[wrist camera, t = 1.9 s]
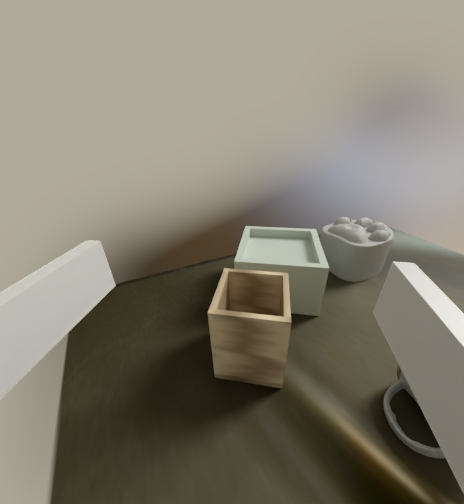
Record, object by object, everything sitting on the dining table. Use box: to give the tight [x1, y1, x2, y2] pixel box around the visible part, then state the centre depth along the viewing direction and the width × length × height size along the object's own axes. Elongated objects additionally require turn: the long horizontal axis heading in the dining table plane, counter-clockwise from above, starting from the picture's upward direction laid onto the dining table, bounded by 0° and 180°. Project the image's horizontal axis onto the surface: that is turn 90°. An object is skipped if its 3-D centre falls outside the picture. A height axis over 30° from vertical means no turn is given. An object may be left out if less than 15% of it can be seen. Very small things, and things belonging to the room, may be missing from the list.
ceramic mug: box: [383, 365, 445, 458], centre depth 20 cm, size 10×8×7 cm
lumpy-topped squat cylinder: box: [320, 217, 393, 282], centre depth 44 cm, size 10×13×9 cm
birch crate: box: [208, 268, 291, 388], centre depth 26 cm, size 8×8×10 cm
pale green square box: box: [234, 226, 330, 316], centre depth 38 cm, size 13×13×8 cm
